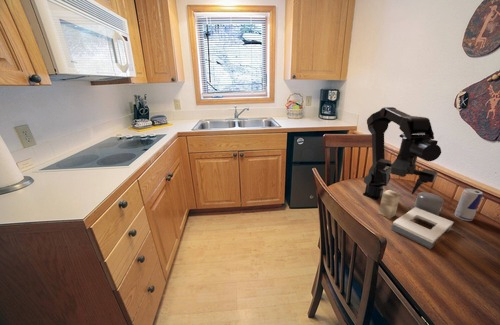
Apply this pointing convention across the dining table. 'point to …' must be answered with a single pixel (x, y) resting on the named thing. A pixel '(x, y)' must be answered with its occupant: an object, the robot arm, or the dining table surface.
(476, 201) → the energy drink
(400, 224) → the hole board
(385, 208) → the wood peg
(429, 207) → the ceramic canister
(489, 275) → the dining table surface
